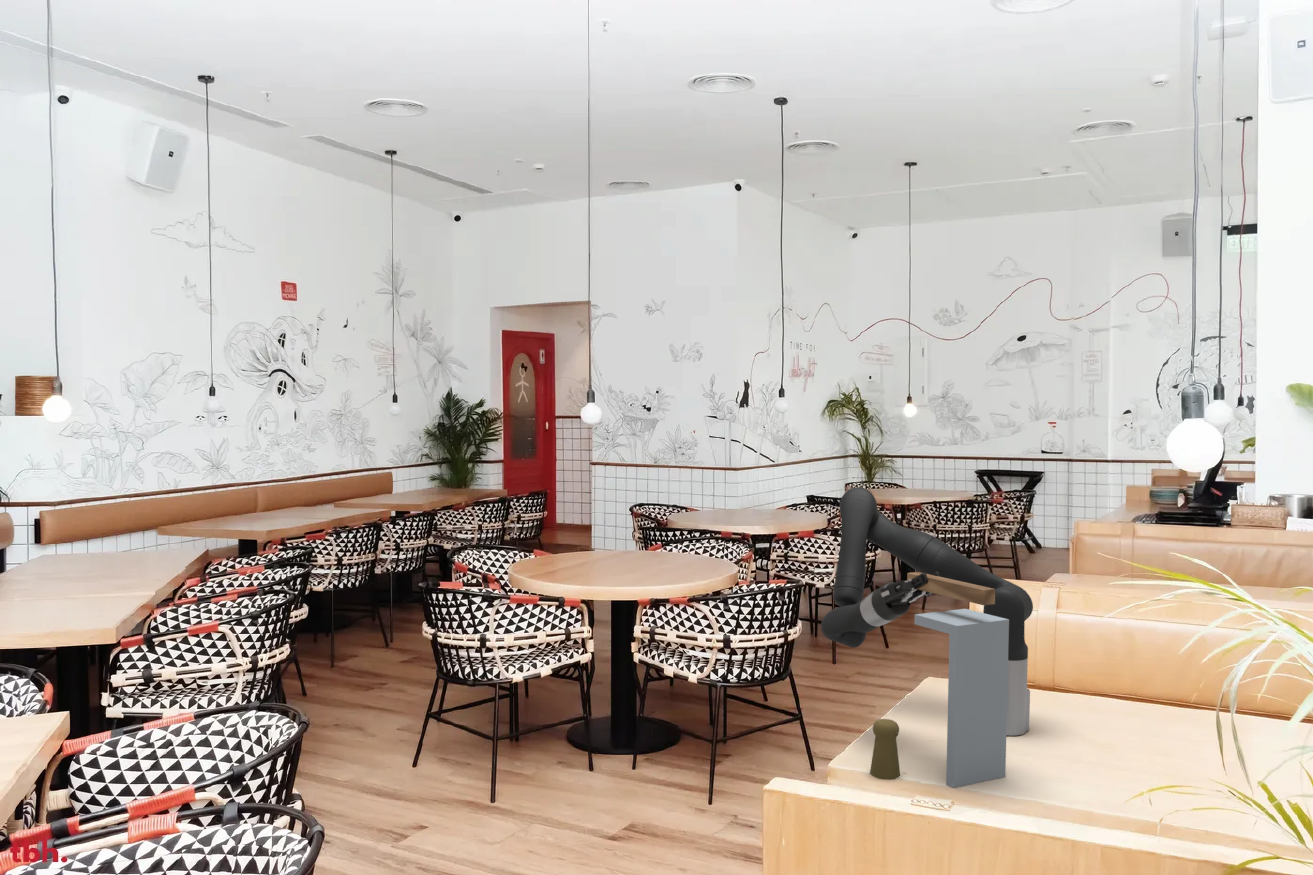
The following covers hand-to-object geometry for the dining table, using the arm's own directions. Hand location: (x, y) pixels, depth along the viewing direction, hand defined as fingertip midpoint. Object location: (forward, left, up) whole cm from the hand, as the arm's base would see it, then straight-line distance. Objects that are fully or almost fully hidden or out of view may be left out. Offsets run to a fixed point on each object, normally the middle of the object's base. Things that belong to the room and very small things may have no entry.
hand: (932, 577), depth 220 cm
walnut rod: (0, +5, -3) cm, 6 cm away
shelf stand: (0, +9, -39) cm, 40 cm away
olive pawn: (+14, +3, -39) cm, 42 cm away
